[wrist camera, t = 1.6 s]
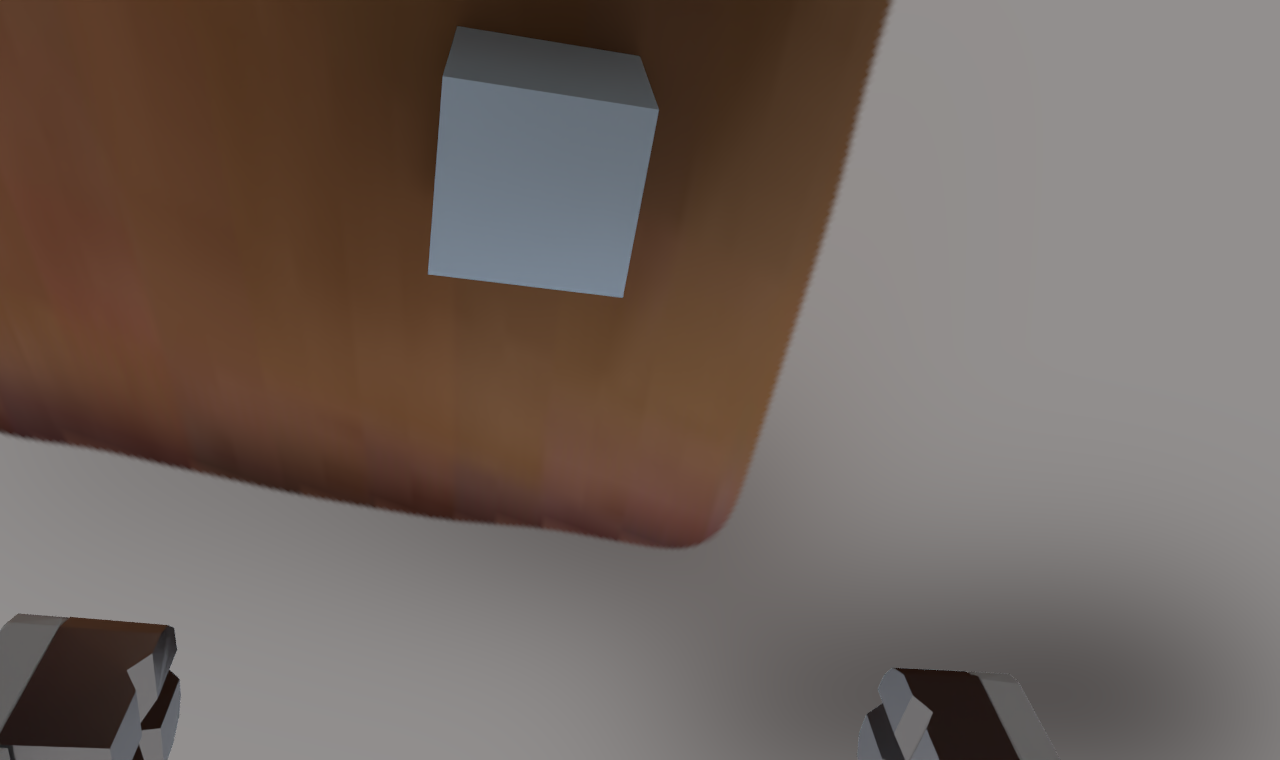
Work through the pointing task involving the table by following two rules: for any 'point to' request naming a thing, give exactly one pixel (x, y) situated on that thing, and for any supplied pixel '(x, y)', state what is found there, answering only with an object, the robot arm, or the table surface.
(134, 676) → the robot arm
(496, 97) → the slate brick
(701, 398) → the table surface
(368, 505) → the table surface
